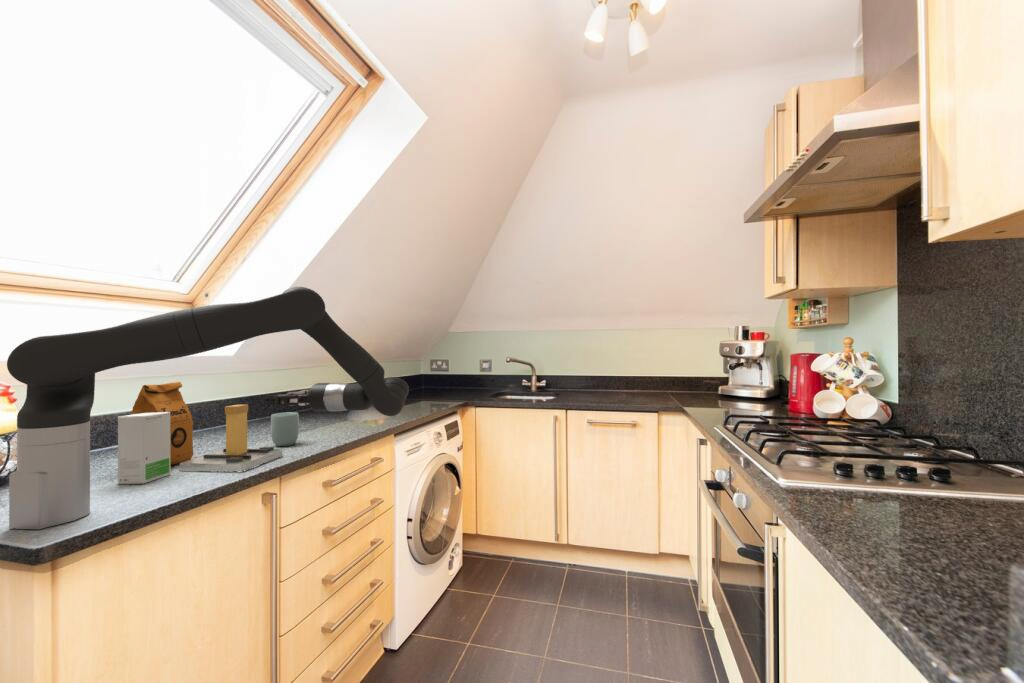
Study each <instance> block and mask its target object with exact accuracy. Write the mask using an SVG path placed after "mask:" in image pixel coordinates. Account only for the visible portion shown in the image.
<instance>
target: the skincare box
mask: <svg viewBox="0 0 1024 683" xmlns="http://www.w3.org/2000/svg"><path fill="white" fill-rule="evenodd" d="M171 466H172V465H170V412H157V413H141V414H133V415H132V414H127V415H119V416H117V484H118V485H141V484H142V485H143V484H146V483H149V482H152V481H155V480H158V479H162V478H164V477H167V476H170V475H171V472H172V471H171V470H172V469H171V468H172V467H171Z"/></svg>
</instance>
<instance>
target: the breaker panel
mask: <svg viewBox="0 0 1024 683" xmlns="http://www.w3.org/2000/svg"><path fill="white" fill-rule="evenodd" d="M281 456H282V457H283V449H282V448H275V447H274V446H262V447H258V448H247V452H245V453H242V454H239V455H226V448H223V449H222V450H218V451H215V452H212V453H209V454H203V455H202V456H199V457H196V458H191V460H188V461H184V462H181V463H179V472H198V471H211V472H210V473H228V472H227V471H244V470H247V469H249V468H252V467H254V466H257V465H260V464H262V465H264V464H263V463H265V464H267V463H269V461H270V462H272V461H274V460H273V459H275V460H277V459H279V458H278V457H280V458H282V457H281ZM276 458H277V459H276ZM271 460H272V461H271ZM266 462H267V463H266ZM260 466H261V465H260ZM257 467H258V466H257ZM254 468H255V467H254ZM252 469H253V468H252ZM249 470H250V469H249ZM217 471H218V472H217ZM224 471H225V472H224ZM247 471H248V470H247ZM244 472H245V471H244Z"/></svg>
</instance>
